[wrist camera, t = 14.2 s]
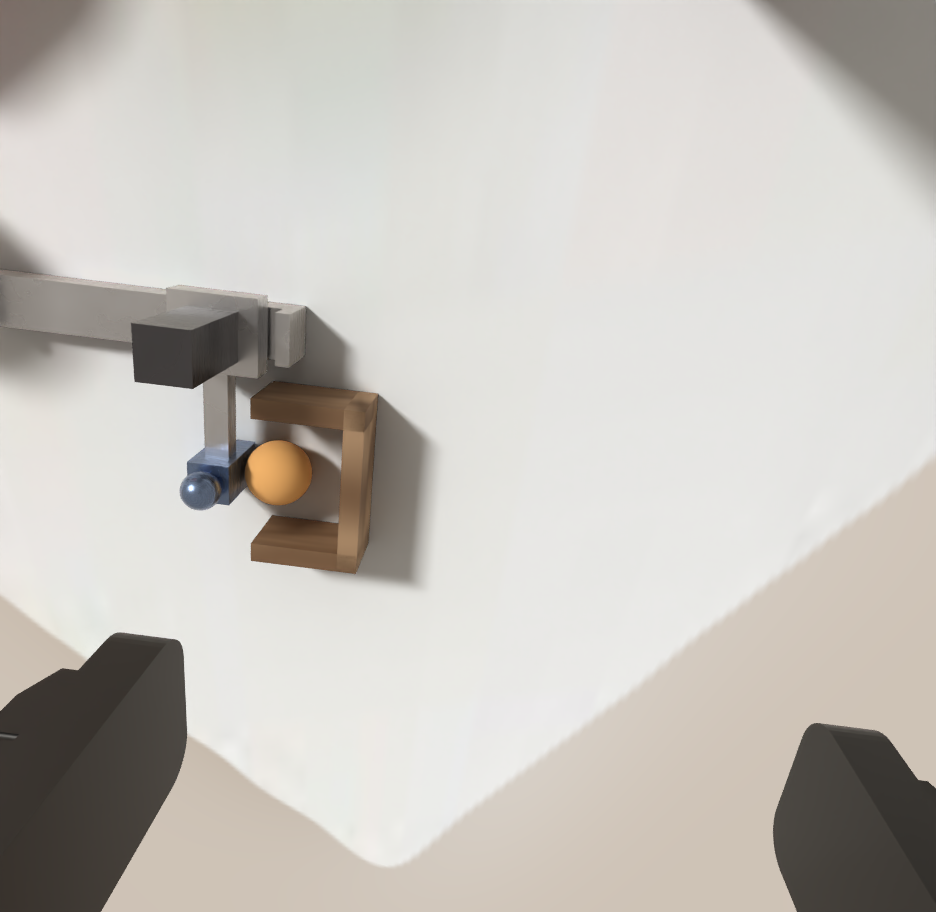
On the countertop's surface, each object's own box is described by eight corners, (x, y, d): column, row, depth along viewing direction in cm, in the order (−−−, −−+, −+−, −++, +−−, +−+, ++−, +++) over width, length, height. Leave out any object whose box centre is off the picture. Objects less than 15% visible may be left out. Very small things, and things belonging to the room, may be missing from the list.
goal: (273, 381, 42) (250, 398, 38) (378, 393, 42) (365, 412, 38) (272, 531, 45) (250, 560, 42) (368, 543, 45) (355, 573, 42)
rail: (-7, 268, 40) (-49, 273, 37) (306, 306, 40) (289, 314, 37) (-1, 318, 41) (-40, 327, 38) (304, 356, 41) (288, 367, 38)
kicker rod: (192, 281, 40) (106, 302, 31) (277, 291, 39) (214, 315, 31) (198, 469, 44) (123, 534, 35) (275, 479, 44) (218, 545, 35)
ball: (313, 455, 40) (313, 432, 43) (241, 453, 39) (247, 430, 42) (310, 516, 41) (311, 489, 45) (241, 516, 40) (248, 488, 44)
